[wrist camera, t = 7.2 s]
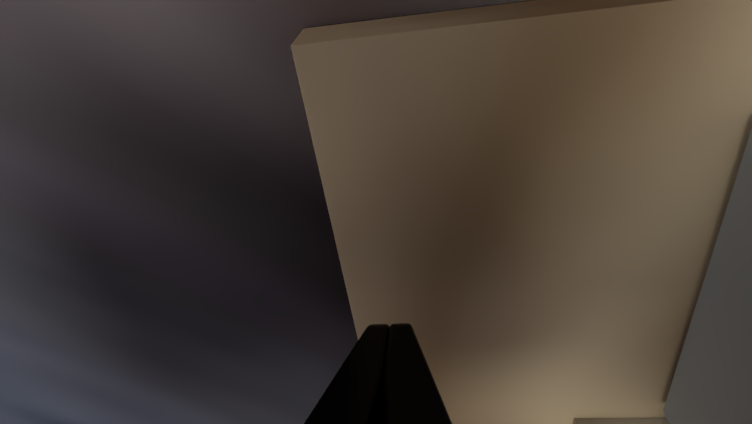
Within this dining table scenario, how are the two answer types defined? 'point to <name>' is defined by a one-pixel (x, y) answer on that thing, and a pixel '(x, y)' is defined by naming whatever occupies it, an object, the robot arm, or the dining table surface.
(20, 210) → the dining table surface
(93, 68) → the dining table surface
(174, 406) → the dining table surface
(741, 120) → the gauge board
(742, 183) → the grey rectangular block
